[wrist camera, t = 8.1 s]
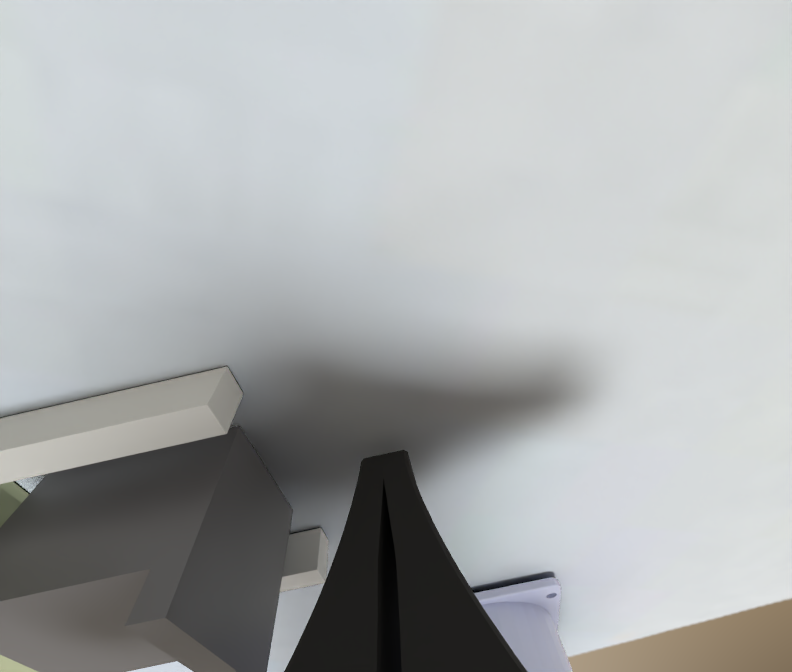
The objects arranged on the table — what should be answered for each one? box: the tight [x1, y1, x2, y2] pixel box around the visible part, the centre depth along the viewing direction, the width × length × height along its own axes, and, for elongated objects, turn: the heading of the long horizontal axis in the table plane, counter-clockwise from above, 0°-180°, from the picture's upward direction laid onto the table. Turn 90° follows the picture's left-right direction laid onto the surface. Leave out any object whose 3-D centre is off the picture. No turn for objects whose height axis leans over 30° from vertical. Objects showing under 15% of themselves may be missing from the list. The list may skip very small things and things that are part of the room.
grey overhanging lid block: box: [0, 426, 293, 672], centre depth 10 cm, size 4×6×5 cm
